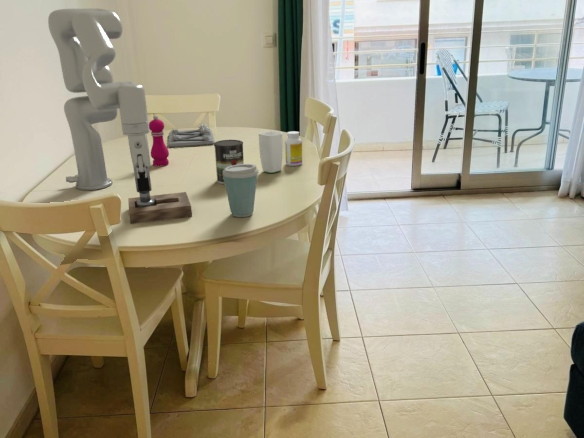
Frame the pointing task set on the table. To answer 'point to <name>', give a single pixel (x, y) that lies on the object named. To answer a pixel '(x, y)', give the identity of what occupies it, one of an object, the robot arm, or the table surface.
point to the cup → (271, 151)
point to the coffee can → (227, 156)
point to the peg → (144, 195)
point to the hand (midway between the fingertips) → (143, 187)
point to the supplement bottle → (293, 149)
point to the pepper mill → (158, 143)
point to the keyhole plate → (160, 208)
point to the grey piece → (191, 137)
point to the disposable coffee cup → (241, 188)
